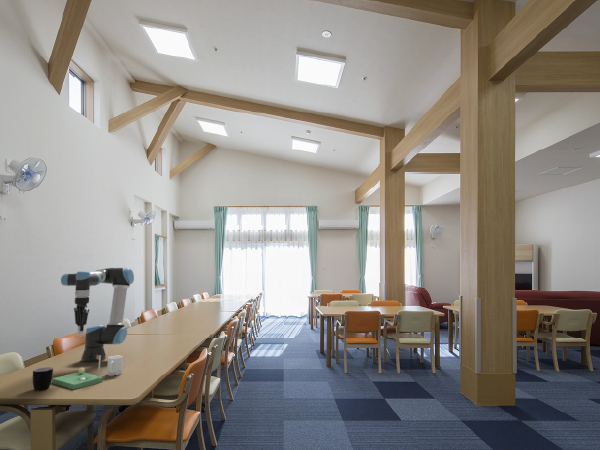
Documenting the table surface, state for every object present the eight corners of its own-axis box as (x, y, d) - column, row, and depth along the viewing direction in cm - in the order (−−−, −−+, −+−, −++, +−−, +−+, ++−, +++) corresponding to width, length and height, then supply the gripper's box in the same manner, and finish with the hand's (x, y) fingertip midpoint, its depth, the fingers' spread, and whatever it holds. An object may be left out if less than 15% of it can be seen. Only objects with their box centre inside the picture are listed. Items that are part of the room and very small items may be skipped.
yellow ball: (76, 374, 219) (77, 368, 219) (82, 372, 222) (83, 366, 222) (80, 374, 217) (80, 368, 218) (85, 373, 220) (86, 367, 221)
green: (51, 383, 210) (53, 356, 212) (80, 375, 224) (82, 350, 226) (73, 389, 199) (75, 361, 201) (102, 381, 213) (103, 355, 215)
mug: (35, 386, 204) (36, 367, 205) (54, 385, 206) (55, 366, 207) (26, 394, 192) (27, 373, 193) (46, 392, 195) (47, 372, 196)
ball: (77, 380, 209) (81, 375, 209) (82, 381, 211) (86, 376, 212) (78, 384, 207) (82, 379, 207) (83, 385, 209) (87, 381, 209)
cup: (123, 371, 233) (124, 355, 234) (117, 377, 221) (118, 359, 222) (109, 372, 232) (110, 355, 233) (102, 378, 220) (103, 360, 221)
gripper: (69, 296, 227) (67, 336, 225) (81, 298, 220) (79, 339, 218) (82, 295, 233) (80, 334, 232) (94, 297, 227) (92, 336, 225)
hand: (80, 336), depth 225 cm, fingers closed
